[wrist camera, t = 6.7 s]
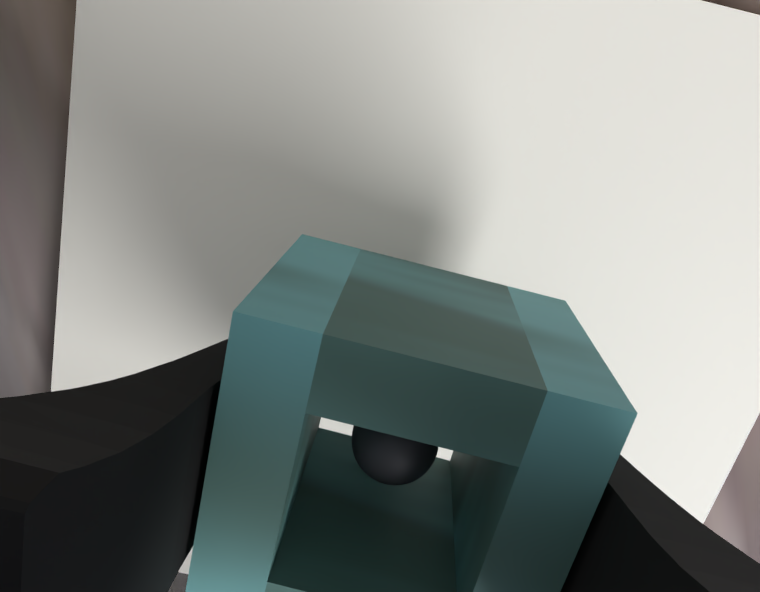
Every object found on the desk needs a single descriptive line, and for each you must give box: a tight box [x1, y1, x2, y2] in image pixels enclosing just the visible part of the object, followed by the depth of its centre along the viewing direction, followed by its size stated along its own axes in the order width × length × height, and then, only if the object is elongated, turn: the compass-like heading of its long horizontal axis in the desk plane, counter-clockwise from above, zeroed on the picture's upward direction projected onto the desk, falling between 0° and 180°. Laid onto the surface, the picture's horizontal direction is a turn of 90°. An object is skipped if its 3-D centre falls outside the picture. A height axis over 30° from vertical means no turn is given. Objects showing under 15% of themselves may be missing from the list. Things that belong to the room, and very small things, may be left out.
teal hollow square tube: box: [186, 234, 638, 592], centre depth 11 cm, size 5×5×4 cm
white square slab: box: [51, 0, 760, 574], centre depth 13 cm, size 18×18×6 cm
